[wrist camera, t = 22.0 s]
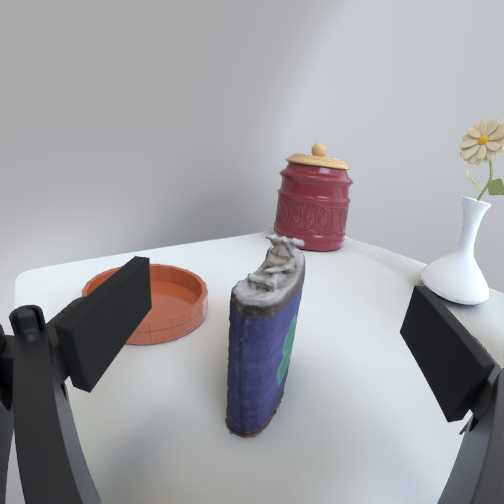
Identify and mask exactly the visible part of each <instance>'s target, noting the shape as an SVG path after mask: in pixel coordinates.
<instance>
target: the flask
mask: <svg viewBox="0 0 504 504" xmlns="http://www.w3.org/2000/svg"><path fill="white" fill-rule="evenodd" d="M266 238H267V239H269V240H270V241H271V243H272V245H273V246H272V247H270V248H269V249H268V251H267V254H266V259H265V261H264V262H263V264H262V265H261V266H260V267H259V268H258V270H257V271H256V272H254V273H253V274H248V277H247V278H246V279H245V280H242V281H239V282H238V283H237V284H236V285H235V286H234V287H233V288H232V292H231V300H230V316H229V321H230V328H229V348H228V352H229V356H228V360H229V363H228V379H227V385H228V392H227V418H226V420H225V421H226V425H227V427H228V429H229V430H230V434H233V433H234V434H236V435H238V436H241V437H244V438H245V437H255V436H256V435H258V434H260V433H261V432H262V430H263V429H265V428H266V427H267V426H268V425H269V422H270V421H271V419H272V417H273V416H274V414H275V413H276V410H277V408H278V407H279V404H280V403H281V398H282V396H283V393H284V392H283V390H284V384H285V381H286V377H287V372H288V367H289V363H290V355H291V351H292V345H293V340H294V334H295V328H296V322H297V315H298V310H299V304H300V300H301V294H302V287H303V283H304V277H305V258H304V255H303V252H302V251H301V250H299V249H297V248H295V246H296V245H298V246H300V247H303V246H304V241H303V240H302V239H301V240H298V239H296V238H293V239H290V238H286V236H282V237H278V236H277V235H276V234H272V235H266Z"/></svg>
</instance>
